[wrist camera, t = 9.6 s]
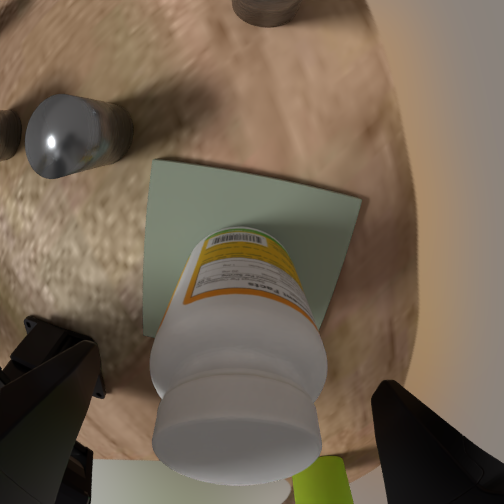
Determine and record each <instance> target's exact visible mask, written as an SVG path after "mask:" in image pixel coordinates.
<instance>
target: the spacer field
mask: <svg viewBox="0 0 504 504" xmlns="http://www.w3.org/2000/svg"><path fill="white" fill-rule="evenodd" d="M301 1H302V0H232V7H233V10H234V12H235V13H236V14H237V16H238V17H239V18H240V19H242V20H243V21H245V22H247V23H249V24H251V25H254V26H259V27H275V26H279V25H282V24H285V23H287V22H288V21H290V20H291V19H292V18H293V17H294V16H295V14H296V12H297V10H298V8H299V6H300V3H301ZM20 138H21V121H20V118H19V116H18V114H17V113H16V112H15V111H12V110H0V161H3V160H7V159H9V158H11V157H12V156H13V155H14V153H15V152H16V150H17V148H18V146H19V143H20ZM132 138H133V123H132V119H131V117H130V115H129V114H128V112H127V111H126V110H125V109H124V108H123V107H121V106H119V105H116V104H112V103H108V102H103V101H98V100H93V99H88V98H83V97H78V96H72V95H66V94H57V95H53V96H51V97H49V98H47V99H46V100H44V101H43V102H42V103H41V104H40V105H39V106H38V107H37V108H36V110H35V111H34V112H33V114H32V116H31V118H30V120H29V123H28V126H27V130H26V135H25V150H26V155H27V158H28V161H29V163H30V165H31V167H32V168H33V170H34V171H35V172H36V173H37V174H39V175H40V176H42V177H44V178H48V179H56V178H60V177H63V176H67V175H70V174H74V173H78V172H81V171H85V170H89V169H93V168H97V167H101V166H105V165H109V164H112V163H115V162H116V161H118V160H119V159H121V158H122V157H123V156H124V155H125V153H126V152H127V151H128V149H129V147H130V145H131V142H132Z"/></svg>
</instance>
